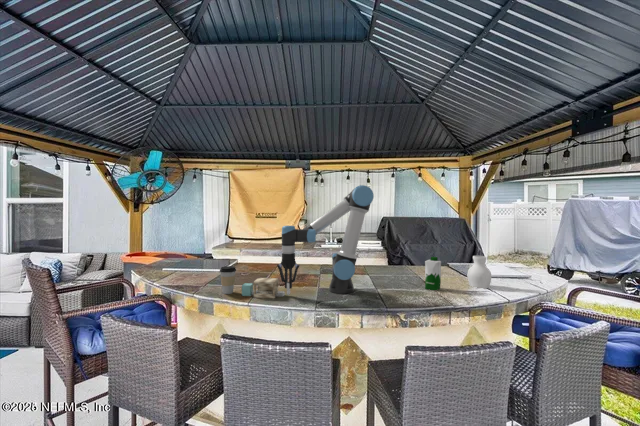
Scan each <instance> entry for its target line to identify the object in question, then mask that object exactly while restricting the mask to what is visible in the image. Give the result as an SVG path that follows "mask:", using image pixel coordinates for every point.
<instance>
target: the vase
mask: <svg viewBox="0 0 640 426" xmlns="http://www.w3.org/2000/svg"><path fill="white" fill-rule="evenodd" d="M472 261H473V263H472V265H471V266H470V267H469V269H468V270H467V280H468V286H469V285H470V286H473V287H477V288H476V289H479V288H488V289H490V286H491V282H492V272H491V271H490V269H489V268H488V267H487V266H486V261H487V256H485V255H472ZM470 286H469V287H470ZM473 287H472V288H473Z"/></svg>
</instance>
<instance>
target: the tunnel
mask: <svg viewBox="0 0 640 426" xmlns="http://www.w3.org/2000/svg"><path fill="white" fill-rule="evenodd" d="M253 290H254V295H253V298H258V299H259V298H261V299H275V298H276V296H275V291H279V278H278V277H277V278H272V277H258V278H256V279H255V280H254V281H253ZM256 290H260V291H273V294H256Z"/></svg>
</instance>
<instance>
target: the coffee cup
mask: <svg viewBox="0 0 640 426" xmlns="http://www.w3.org/2000/svg"><path fill="white" fill-rule="evenodd" d="M236 271H237V268H236V267H235V266H233V265H228V266H227V265H226V266H221V268H220V269H219V273H220V282H221V290H222V294H224V295H230V294H234V288H235V283H236V282H235V280H236Z"/></svg>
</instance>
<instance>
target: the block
mask: <svg viewBox="0 0 640 426" xmlns="http://www.w3.org/2000/svg"><path fill="white" fill-rule="evenodd" d="M252 290H254V282H252V283H251V282H250V283H247V282H245V283H243V284H242V285H241V296H242V297H251V296H252V295H251V291H252Z"/></svg>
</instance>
